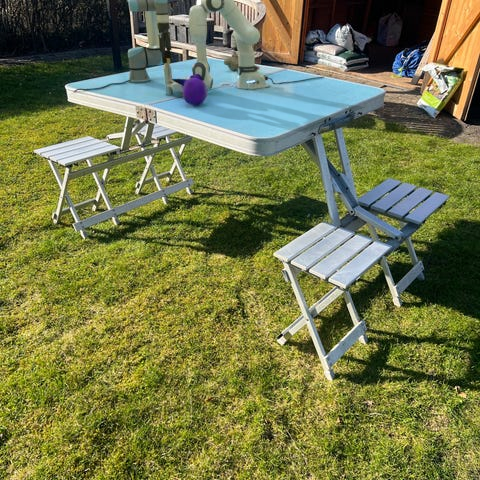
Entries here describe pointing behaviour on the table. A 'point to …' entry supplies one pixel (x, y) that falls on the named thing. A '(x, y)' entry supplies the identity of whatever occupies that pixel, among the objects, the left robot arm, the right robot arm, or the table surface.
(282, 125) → the table surface
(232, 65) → the teapot
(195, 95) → the toy
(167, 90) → the bottle
